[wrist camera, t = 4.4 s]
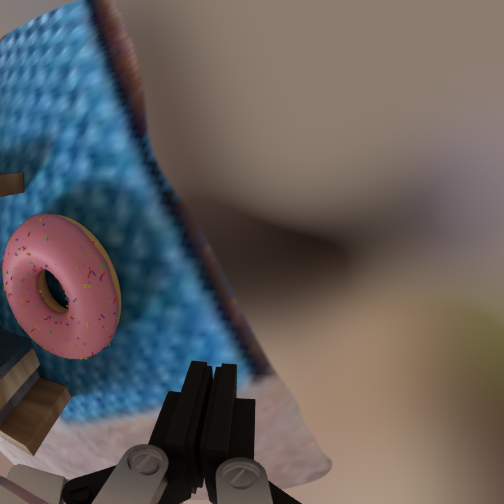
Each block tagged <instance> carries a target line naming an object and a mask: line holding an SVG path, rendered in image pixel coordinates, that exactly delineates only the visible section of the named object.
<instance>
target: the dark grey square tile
mask: <svg viewBox="0 0 504 504" xmlns="http://www.w3.org/2000/svg"><path fill="white" fill-rule="evenodd" d="M32 348H33V345H32V342H31V340H30V339H27V338H24V337H21V336H18V335H16V334H13V333H10V332H7V331H4V330H2V329H0V380H1V379H2V378H3V377H4V376H5V375H6V374H7V373H8V372H9V371H10V370H11V369H12V368H13V367H14V366H15V365H16V364H17V363H18V362H19V361H20V360H21V359H22V358H23V357H24V356H25V355H26V354H27V353H28V352H29V351H30V350H31V349H32Z"/></svg>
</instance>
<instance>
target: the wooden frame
mask: <svg viewBox="0 0 504 504" xmlns="http://www.w3.org/2000/svg"><path fill="white" fill-rule="evenodd" d="M18 193H24V186H23V172H21V173H11V174H2V175H0V197H3V196H8V195H13V194H18ZM39 365H40V363H39V361H38V358H37V356H36V353H35V350H34V348H32V349H31V350H30V351H29V352H28V353H27V354H26V355H25V356H24V357H23V358H22V359H21V360H20V361H19V362H18V363H17V364H16V365H15V366H14V367H13V368H12V369H11V370H10V371H9V372H8V373H7V374H6V375H5V376H4V377H3V378H2V379H1V380H0V436H1V437H2V438H4V439H5V440H7V441H8V442H10V443H12V444H13V445H15V446H16V447H18V448H20V449H21V450H23V451H25V452H27V453H28V454H30V455H32V456H34V455H35V453H36V452H37V450H38V448H39V447H40V445H41V443H42V442H43V440H44V439H45V437H46V436H47V434H48V432H49V431H50V429H51V428H52V426H53V425H54V423H55V422H56V420H57V418H58V417H59V415H60V414H61V412H62V411H63V409H64V408H65V406H66V405H67V404H68V402H69V401H70V399H71V395H70V393H69V391H68V388H67V387H66V386H63V385H60V384H57V383H55V382H52V381H49V380H46V379H44V378H41V377H40V376H39V374H38V371H37V368H38V367H39Z"/></svg>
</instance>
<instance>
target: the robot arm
mask: <svg viewBox="0 0 504 504" xmlns="http://www.w3.org/2000/svg"><path fill="white" fill-rule="evenodd" d="M236 391H237V364H224V363H222V366H221V367H216V369H215V374H214V378H213V372H212V366H207V362H201V361H191V364H190V367H189V370H188V372H187V375H186V378H185V381H184V384H183V387H182V390H181V392H174V391H169V392H168V394H167V396H166V398H165V401H164V404H163V406H162V409H161V411H160V414H159V417H158V419H157V422H156V424H155V427H154V430H153V432H152V435H151V438H150V440H149V443H148V444H140V445H136V446H133V447H132V448H130V449H128V450H127V451H126V452H125V454H124V455H123V457H122V458H121V460H120V461H119V463H118V464H117V465H115V466H112V467H109V468H106V469H103V470H100V471H97V472H94V473H91V474H88V475H84V476H81V477H77V478H74V479H72V480H69V479H66V478H65V477H64V476H60V475H56V474H52V473H48V472H45V471H41V470H38V469H35V468H32V467H29V466H26V465H21V464H18V465H15V466H13V467H12V468H11V469H10V471H9V473H8V476H7V479H6V478H4V477H2V476H0V504H183V502H184V501H186V500H188V499H190V498H191V493H194V494H196V490H197V487H199V488H202V487H203V482H204V479H205V484H206V488H207V491H208V496H209V501H210V502H211V503H212V504H302V503H300V502H298V501H297V500H295V499H294V498H292V497H291V496H289V495H288V494H287V493H285V492H284V491H282V490H281V489H279V488H278V487H277V486H275V485H274V484H272V483H271V482H270V481H268V478H267V473H266V471H265V469H264V467H263V466H262V465H261V464H260V463H258V462H256V461H255V460H254V436H255V399H241V398H236Z"/></svg>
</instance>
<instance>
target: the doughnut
mask: <svg viewBox="0 0 504 504" xmlns="http://www.w3.org/2000/svg"><path fill="white" fill-rule="evenodd" d="M7 243H8V244H7V247H6V250H5V252H4V258H3V260H2V262H3V265H2V266H1V267H3V270H2V272H3V282H4V286H3V285H2V287H4V288H5V289H3V290H5V294H6V297H7V299H8V302H9V305H10V307H11V312H12V313H13V314H14V316H15V317H16V318H15V320H17V321H18V324H19V325H18V326H20V325H21V327H22V328H23V329H24V331H25V332H26V333H27V334H28V335H29V336H30V339H33V342H34V341H35V342H36V343H37V344H38V345H40V346H41V347H43V350H46V351H48V352H51V353H53V354H55V355H57V356H60V357H64V358H65V359H66V358H69V360H71V359H81V360H82V359H83V358H85V360H87V359H88V357H90V358H92V357H91V356H93V355H96V353H99V352H100V351H101V350H103V349H105V347H106V348H107V345H108V344H109V346H110V342H111V340H112V339H113V337H114V335H115V332H116V328H117V325H118V323H119V319H120V314H121V292H120V286H119V281H118V278H117V274H116V271H115V269H114V266H113V264H112V262H111V260H110V258H109V256H108V254H107V252H106V251H105V249H104V248H103V246H102V245H101V243H100V242H99V241H98V240H97V238H96V237H95V236H94V235H93V234H92V233H91V232H90V231H89V230H88V229H86V228H85V227H84V226H83V225H81V224H80V223H78V222H77V221H75V220H73V219H71V218H68V217H65V216H62V215H56V214H39V213H38V215H35V216H33V217H31V218H29V219H26V221H25V222H24V223H23V224H22V225H20V226H19V227H18V228H17V230H16V231H15V232H14V233H13V235H12V236H11V238H10V239H9V241H8V242H7ZM46 270H49V271H50V272H51V273H52V274H53V275H54V276H55V278H57V279H58V281H59V282H60V284H61V285H62V287H63V288H62V289H63V290H64V291H65V295H66V296H67V298H65V299H66V300H67V301H68V303H69V305H66V307H69V308H68V309H67V308H64V307H63V306H61V305H60V304H59V303H58V302H57V301H56V300H55V299H54V298H53V296H52V295H51V293H50V291H49V289H48V286H47V283H46V278H45V271H46ZM86 357H87V359H86Z"/></svg>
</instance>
